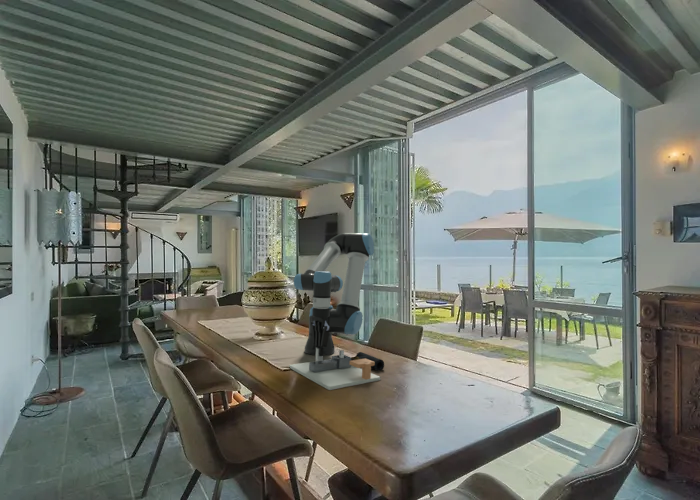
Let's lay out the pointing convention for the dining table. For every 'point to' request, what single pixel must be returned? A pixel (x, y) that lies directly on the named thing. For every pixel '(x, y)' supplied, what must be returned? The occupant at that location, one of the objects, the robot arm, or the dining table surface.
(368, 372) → the keeper
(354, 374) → the board
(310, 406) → the dining table surface
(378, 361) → the pipe connector
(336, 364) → the link
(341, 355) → the cylinder
